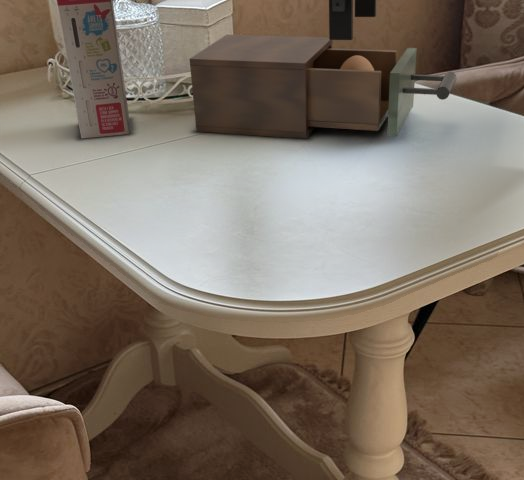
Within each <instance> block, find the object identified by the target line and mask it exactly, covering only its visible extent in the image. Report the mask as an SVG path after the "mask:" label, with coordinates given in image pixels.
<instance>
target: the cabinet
mask: <svg viewBox="0 0 524 480" xmlns="http://www.w3.org/2000/svg"><path fill="white" fill-rule="evenodd" d="M327 48H333V40H329V36H327V37H326V36H325V37H324V36H297V35H295V36H294V35H292V36H291V35H262V34H261V35H259V34H258V35H257V34H256V35H255V34H224V35H223V36H222V37H221V38H218V39H217V40H216V41H214V42H213V43H211V44H210V45H208V46H207V47H205V48H204V49H202V50H201V51H199V52H198V53H196V54H195V55H193V56H192V57H190V58H189V67H190V68H189V69H190V80H191V91H192V100H193V110H194V118H195V119H194V122H195V131H196V132H197V133H214V134H229V135H246V136H259V137H275V138H290V139H301V140H302V139H303V140H306V139H308V138H309V136H310V135H311V133H312V132H313V131H314V130H315V129H316V127H308V115H307V67H308V66H309V65H311V64H312V63H313V62H314V61H315V60H316V59H317V58H318V57H319V56H320V55H321V54H322V53H323V52H324V51H325V50H326V49H327Z"/></svg>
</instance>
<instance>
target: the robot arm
mask: <svg viewBox="0 0 524 480" xmlns="http://www.w3.org/2000/svg"><path fill="white" fill-rule="evenodd" d="M376 16H377V0H328V35H329V36H328V37H329V40H332V41H352V40H353V39H354V18H375V17H376Z"/></svg>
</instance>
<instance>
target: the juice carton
mask: <svg viewBox="0 0 524 480" xmlns="http://www.w3.org/2000/svg"><path fill="white" fill-rule="evenodd" d="M56 3H57V4H56V5H57V9H58V15H59V16H58V17H59V21H60V27H61V32H62V33H61V34H62V38H63V42H64V44H63V45H64V49H65V55H66V60H67V66H68V71H69V78H70V82H71V88H72V95H73V99H74V105H75V106H74V107H75V111H76V116H77V122H78V127H79V128H78V129H79V133H80V138H81V139H90V138H102V137H111V136H112V137H113V136H121V135H131V123H130V122H131V121H130V114H129V107H128V99H127V92H126V85H125V79H124V71H123V63H122V57H121V50H120V45H119V44H120V43H119V36H118V35H119V34H118V28H117V21H116V15H115V7H114V1H113V0H56Z"/></svg>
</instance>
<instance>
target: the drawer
mask: <svg viewBox="0 0 524 480" xmlns="http://www.w3.org/2000/svg"><path fill="white" fill-rule="evenodd" d="M417 50H418V49H417V47H407V48H406V49H405V51H404V52H403V54H402V55H401V57H400V58H399V60H397V56H398V51H397V50H395V49H394V50H393V49H367V48H364V49H363V48H336V47H335V48H334V47H332V48H327V49H326V50H325V51H324V52H323V53H322V54H321V55H320V56H319V57H318V58H317V59H316V60H315V61H314V62H313V63H312V64H311V65H309V66H308V67H307V115H308V127H315V128H323V129H326V128H327V129H342V130H359V131H372V132H373V131H375V132H379V130H380V129H381V127H382V126H383V124H384V122H385V121H386V119H387V134H386V135H387V137H397V136H398V135H399V133H400V131H401V129H402V127H403V125H404V124H405V122H406V120H407V119H408V117H409V114H410V113H411V111H412V109H413V107H414V101H415V95H430V96H431V95H432V96H436V97H437V98H438V100H441V101H443V100H446V99H448V98H449V96H450V94H451V92H452V89H453V88H454V86H455V84H456V81H457V74H456V73H455V72H454V71H447V72H446V73H444V75H438V74H437V75H435V74H416V67H417ZM355 55H359V56H362V57H364V58H366V59H367V60H368V61H369V62H370V63H371V65H372V66H373V69H374V71H369V70H344V69H340V68H341V66H342V65H343V63H344V62H345V61H346V60H347V59H349V58H350V57H352V56H355ZM416 81H423V82H425V81H427V82H440V84H439V86H438V87H437V88H427V87H415V82H416Z"/></svg>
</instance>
